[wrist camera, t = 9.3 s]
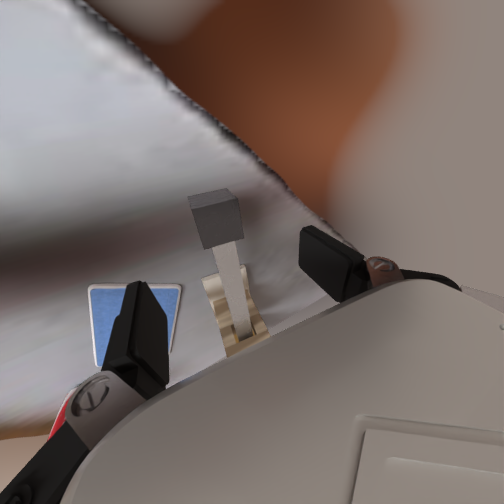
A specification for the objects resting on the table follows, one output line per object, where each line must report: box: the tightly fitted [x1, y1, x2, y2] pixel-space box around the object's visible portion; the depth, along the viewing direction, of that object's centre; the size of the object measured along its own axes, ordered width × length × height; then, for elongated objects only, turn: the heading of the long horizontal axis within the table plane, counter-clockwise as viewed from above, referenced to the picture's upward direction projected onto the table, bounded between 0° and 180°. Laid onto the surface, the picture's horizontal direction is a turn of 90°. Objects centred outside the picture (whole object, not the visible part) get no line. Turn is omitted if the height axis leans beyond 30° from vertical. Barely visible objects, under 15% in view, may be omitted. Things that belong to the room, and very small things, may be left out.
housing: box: [202, 264, 271, 358], centre depth 34 cm, size 20×8×13 cm, turn 7°
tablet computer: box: [88, 283, 181, 367], centre depth 32 cm, size 19×13×1 cm, turn 162°
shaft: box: [188, 188, 253, 342], centre depth 23 cm, size 24×4×4 cm, turn 7°
